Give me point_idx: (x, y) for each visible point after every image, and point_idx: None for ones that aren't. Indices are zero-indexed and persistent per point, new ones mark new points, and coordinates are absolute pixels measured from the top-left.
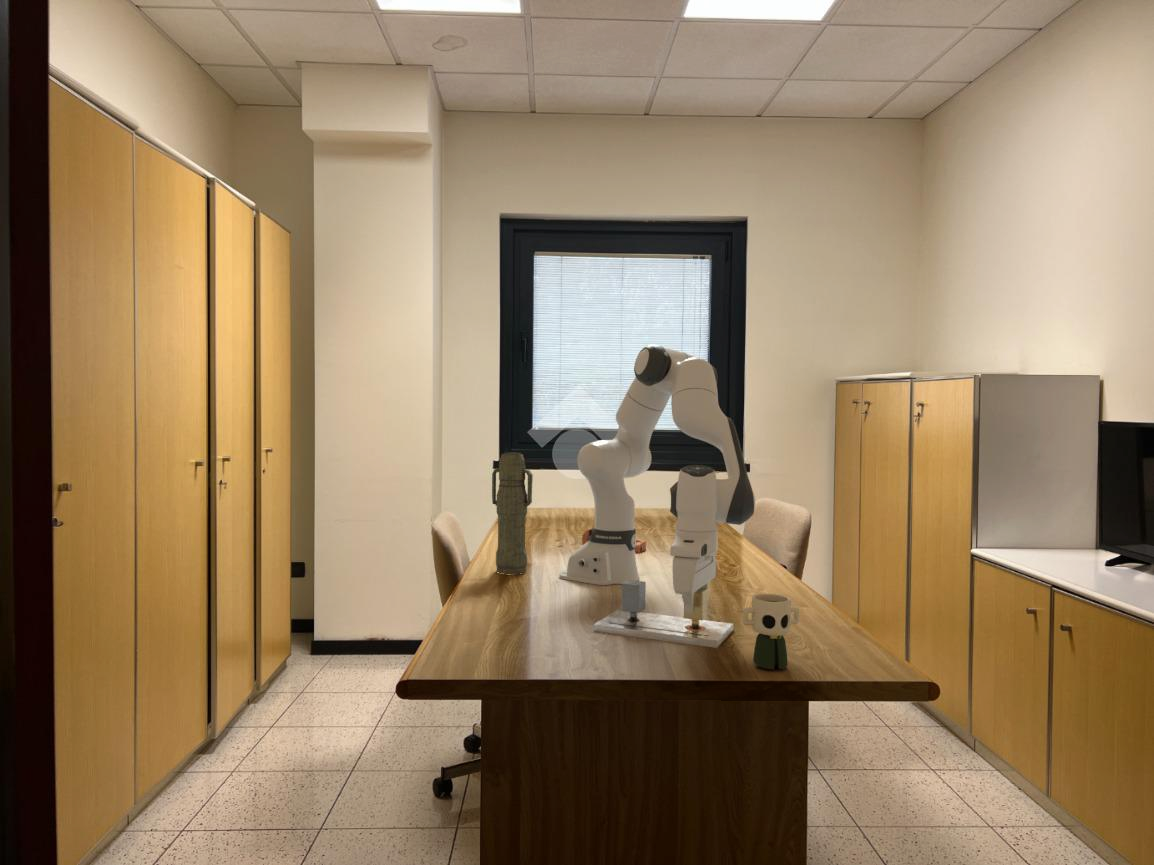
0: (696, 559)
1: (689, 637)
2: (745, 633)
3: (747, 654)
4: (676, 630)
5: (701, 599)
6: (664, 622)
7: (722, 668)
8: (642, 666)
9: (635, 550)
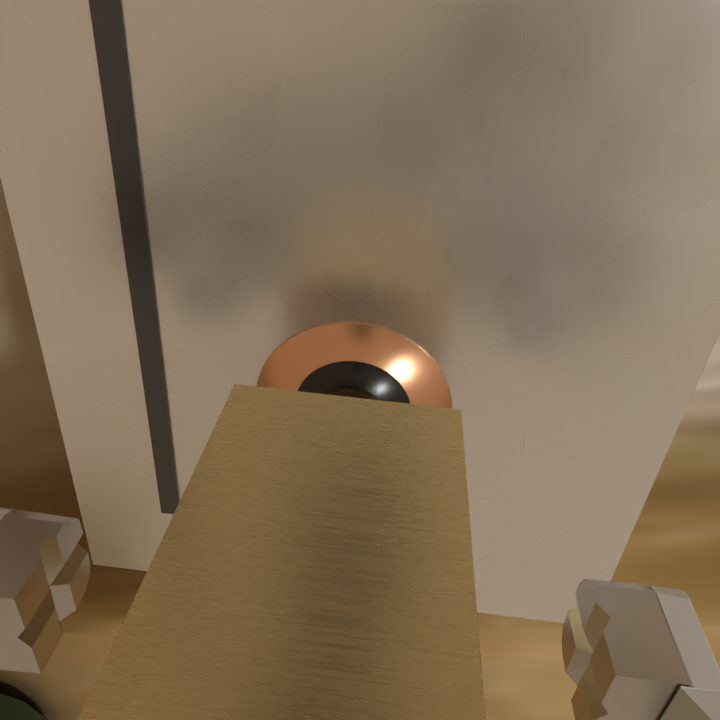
0: None
1: (55, 400)
2: (527, 634)
3: (104, 644)
4: (182, 267)
5: None
6: (454, 55)
7: None
8: None
9: None
